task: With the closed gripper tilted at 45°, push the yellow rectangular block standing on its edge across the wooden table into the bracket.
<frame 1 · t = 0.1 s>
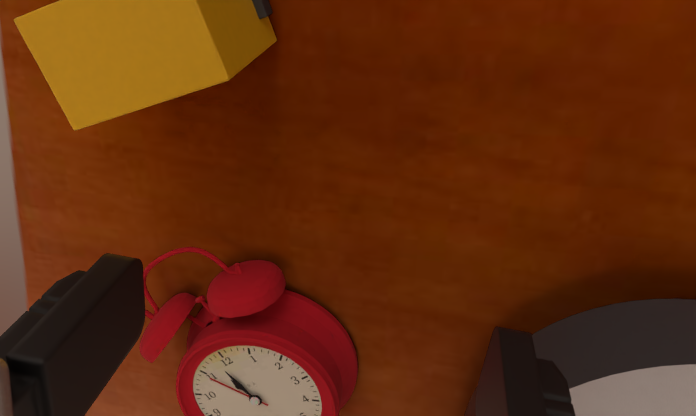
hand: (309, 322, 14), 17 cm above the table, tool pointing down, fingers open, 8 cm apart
yellow rectangular block: (192, 16, 28), on the table
alarm clock: (258, 332, 37), on the table
planter: (630, 404, 35), on the table
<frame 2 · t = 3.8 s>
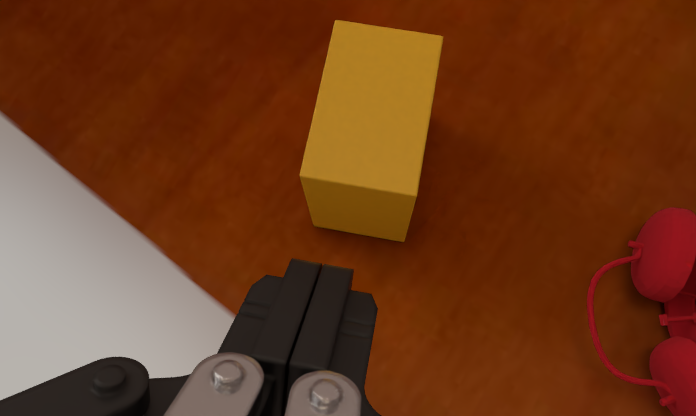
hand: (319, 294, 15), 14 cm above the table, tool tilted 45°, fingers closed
yellow rectangular block: (371, 168, 30), on the table
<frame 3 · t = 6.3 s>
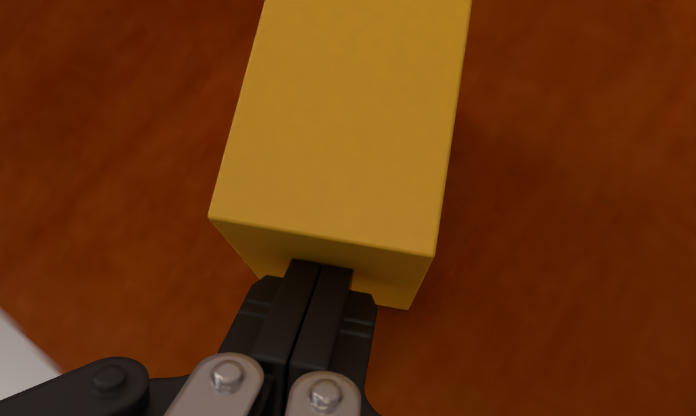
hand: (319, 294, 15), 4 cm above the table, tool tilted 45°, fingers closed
yellow rectangular block: (355, 189, 19), on the table, touching gripper
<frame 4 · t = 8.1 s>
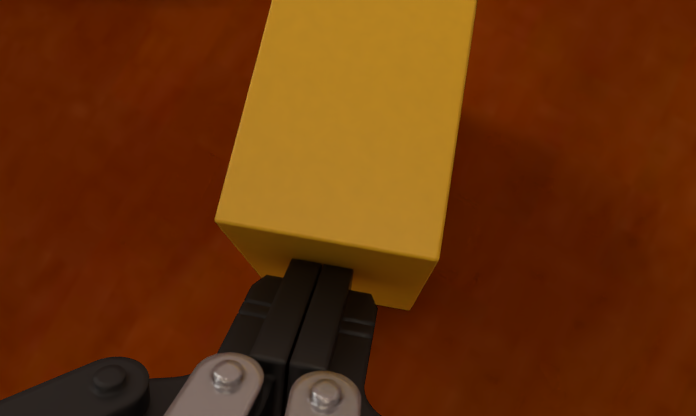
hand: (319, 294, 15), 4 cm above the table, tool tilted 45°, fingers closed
yellow rectangular block: (358, 190, 19), on the table, touching gripper
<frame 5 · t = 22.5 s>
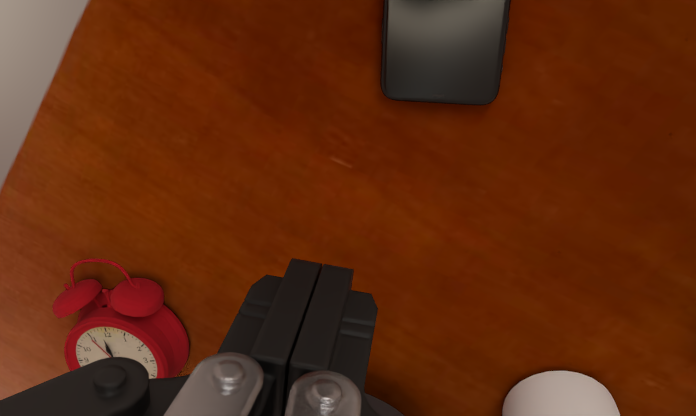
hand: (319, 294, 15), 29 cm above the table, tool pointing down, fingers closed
alarm clock: (131, 317, 55), on the table
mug: (566, 415, 53), on the table
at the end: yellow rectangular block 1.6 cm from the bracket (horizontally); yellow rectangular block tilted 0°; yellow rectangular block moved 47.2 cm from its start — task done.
